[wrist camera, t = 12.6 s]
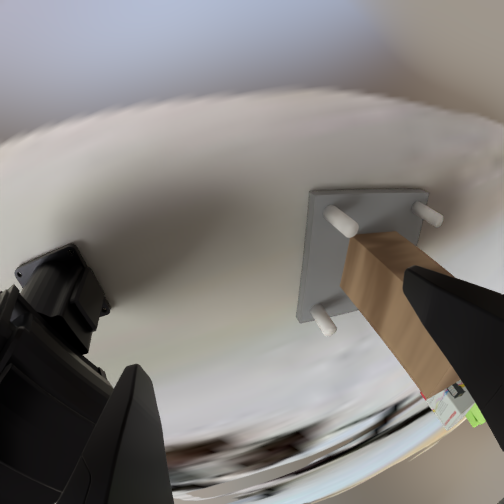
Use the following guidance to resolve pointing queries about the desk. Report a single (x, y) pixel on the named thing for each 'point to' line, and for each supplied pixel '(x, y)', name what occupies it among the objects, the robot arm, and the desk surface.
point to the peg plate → (337, 240)
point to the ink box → (451, 404)
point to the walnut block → (395, 304)
